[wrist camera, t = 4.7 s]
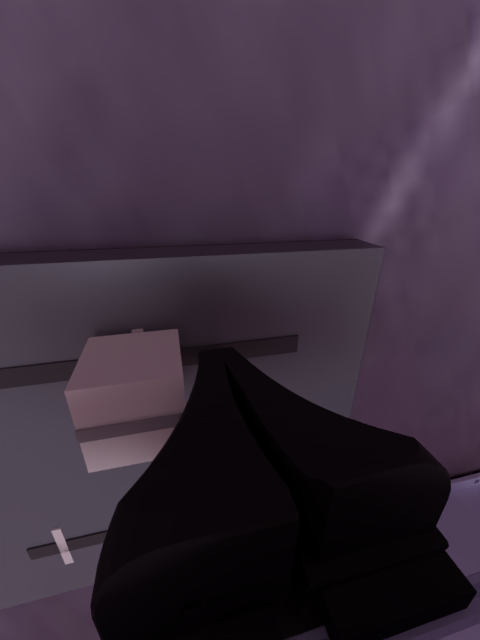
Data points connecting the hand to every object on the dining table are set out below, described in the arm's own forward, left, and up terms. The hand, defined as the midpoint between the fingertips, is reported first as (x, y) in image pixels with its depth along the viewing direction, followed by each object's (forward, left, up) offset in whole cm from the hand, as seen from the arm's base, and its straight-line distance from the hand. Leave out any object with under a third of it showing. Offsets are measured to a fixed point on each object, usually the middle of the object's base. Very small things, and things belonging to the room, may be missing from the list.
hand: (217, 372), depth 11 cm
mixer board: (+3, +5, -3) cm, 7 cm away
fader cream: (+3, 0, -1) cm, 3 cm away
